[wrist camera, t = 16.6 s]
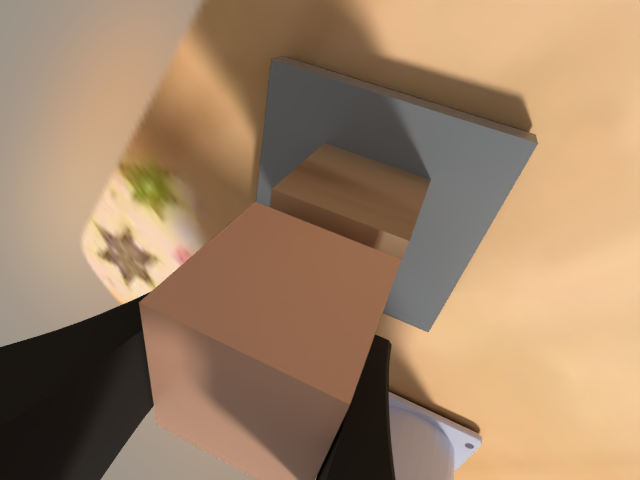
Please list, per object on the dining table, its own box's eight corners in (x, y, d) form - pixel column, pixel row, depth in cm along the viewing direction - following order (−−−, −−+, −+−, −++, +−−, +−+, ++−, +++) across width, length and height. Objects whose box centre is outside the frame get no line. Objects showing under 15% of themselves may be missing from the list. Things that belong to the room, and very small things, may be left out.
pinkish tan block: (355, 365, 13) (303, 505, 10) (243, 314, 14) (156, 424, 10) (401, 259, 10) (349, 404, 7) (255, 201, 11) (138, 302, 7)
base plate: (431, 318, 19) (428, 332, 19) (259, 246, 21) (250, 256, 20) (535, 134, 13) (538, 143, 13) (282, 56, 15) (271, 59, 14)
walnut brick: (392, 273, 17) (365, 346, 14) (304, 238, 18) (258, 298, 15) (431, 179, 14) (409, 241, 11) (324, 143, 15) (271, 189, 12)
